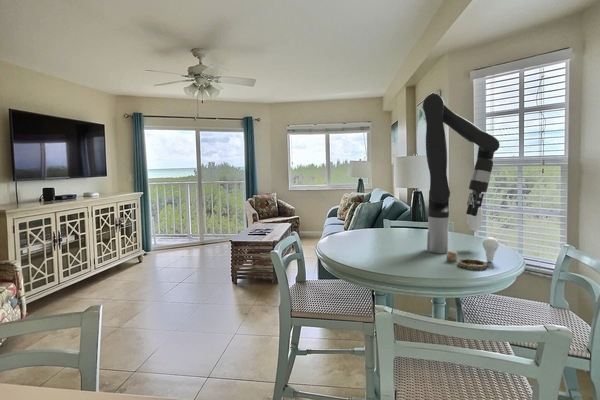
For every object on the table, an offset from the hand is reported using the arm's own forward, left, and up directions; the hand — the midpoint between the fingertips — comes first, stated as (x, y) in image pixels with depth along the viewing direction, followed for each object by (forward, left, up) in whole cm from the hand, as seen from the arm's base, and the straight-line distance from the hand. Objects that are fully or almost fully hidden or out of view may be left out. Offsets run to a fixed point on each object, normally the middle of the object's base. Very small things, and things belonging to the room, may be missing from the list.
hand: (471, 215), depth 159 cm
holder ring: (+1, -19, -19) cm, 27 cm away
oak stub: (-7, -14, -19) cm, 25 cm away
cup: (+2, +15, -19) cm, 24 cm away
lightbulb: (+8, -9, -19) cm, 23 cm away
